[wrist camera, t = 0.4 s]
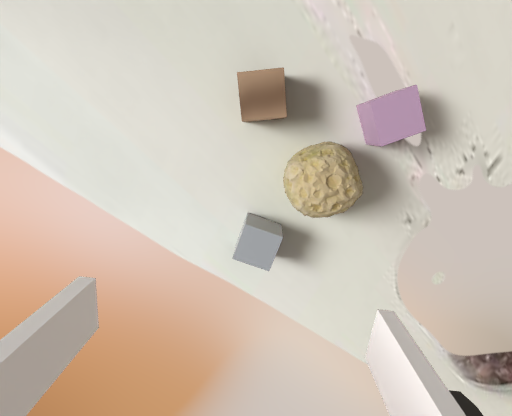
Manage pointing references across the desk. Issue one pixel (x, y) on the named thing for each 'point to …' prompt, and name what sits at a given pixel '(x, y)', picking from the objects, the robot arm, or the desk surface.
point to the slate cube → (258, 242)
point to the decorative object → (322, 180)
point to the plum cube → (392, 117)
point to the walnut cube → (262, 94)
